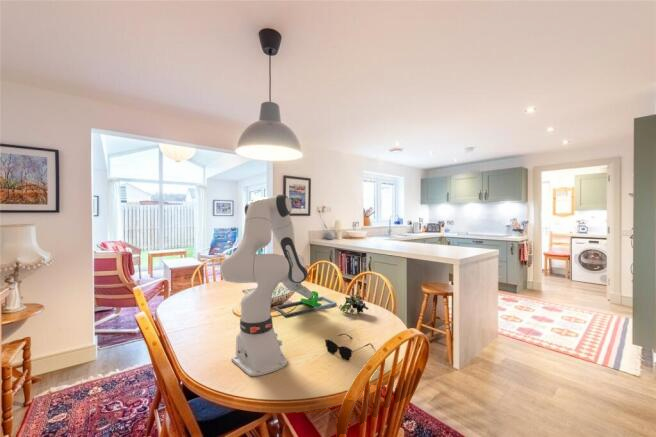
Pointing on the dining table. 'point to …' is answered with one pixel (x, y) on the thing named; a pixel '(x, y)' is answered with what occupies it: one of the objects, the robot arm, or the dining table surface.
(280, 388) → the dining table surface
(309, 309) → the seat frame
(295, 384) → the dining table surface
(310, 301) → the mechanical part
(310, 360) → the dining table surface
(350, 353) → the sunglasses
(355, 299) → the green leafy plant
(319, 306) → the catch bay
